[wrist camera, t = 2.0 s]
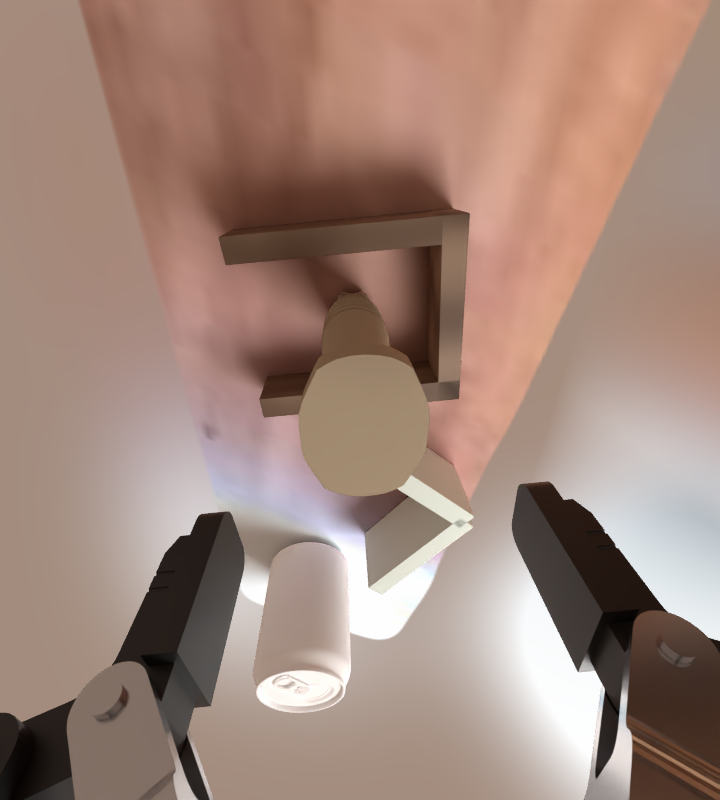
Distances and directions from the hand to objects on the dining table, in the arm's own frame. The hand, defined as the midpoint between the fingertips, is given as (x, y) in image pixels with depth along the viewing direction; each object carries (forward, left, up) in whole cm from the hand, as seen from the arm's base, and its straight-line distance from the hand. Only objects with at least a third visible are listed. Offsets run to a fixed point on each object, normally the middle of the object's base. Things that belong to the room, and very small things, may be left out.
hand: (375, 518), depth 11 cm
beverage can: (+27, -7, -19) cm, 34 cm away
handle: (0, 0, -19) cm, 19 cm away
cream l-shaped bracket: (+16, +4, -19) cm, 25 cm away
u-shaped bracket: (0, 0, -19) cm, 19 cm away
